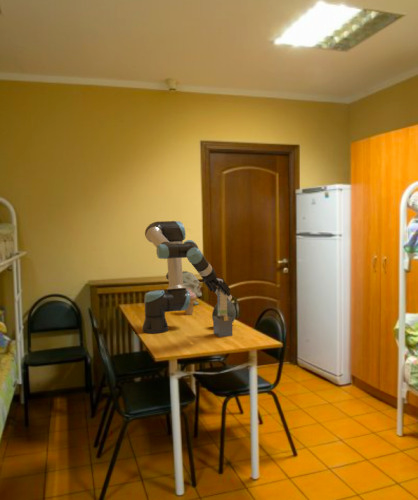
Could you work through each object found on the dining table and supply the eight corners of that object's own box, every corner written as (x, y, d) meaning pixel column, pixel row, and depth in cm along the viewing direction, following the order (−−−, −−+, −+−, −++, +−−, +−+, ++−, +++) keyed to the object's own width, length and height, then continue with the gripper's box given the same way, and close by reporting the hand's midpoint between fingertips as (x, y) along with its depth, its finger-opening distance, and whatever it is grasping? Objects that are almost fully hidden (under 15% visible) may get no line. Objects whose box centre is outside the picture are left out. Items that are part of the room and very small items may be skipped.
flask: (207, 328, 267) (206, 291, 266) (232, 324, 274) (231, 289, 273) (216, 332, 257) (215, 294, 255) (241, 328, 264) (241, 291, 263)
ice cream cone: (179, 315, 305) (178, 286, 304) (183, 312, 316) (183, 284, 315) (194, 316, 303) (193, 286, 302) (198, 312, 313) (198, 284, 312)
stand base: (214, 341, 236) (213, 319, 235) (204, 334, 251) (204, 313, 250) (242, 338, 241) (241, 316, 240) (230, 332, 256) (230, 311, 255)
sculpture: (203, 305, 336) (195, 266, 334) (172, 312, 337) (163, 273, 335) (205, 300, 355) (197, 264, 354) (175, 307, 357) (166, 270, 355)
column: (220, 323, 243) (219, 286, 242) (217, 321, 247) (217, 285, 246) (227, 322, 244) (226, 286, 243) (224, 321, 248) (224, 285, 247)
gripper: (190, 276, 238) (210, 302, 252) (216, 278, 226) (236, 305, 240) (196, 265, 242) (216, 291, 255) (223, 267, 230) (242, 294, 243)
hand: (226, 298), depth 248 cm, fingers closed on column, 5 cm apart
